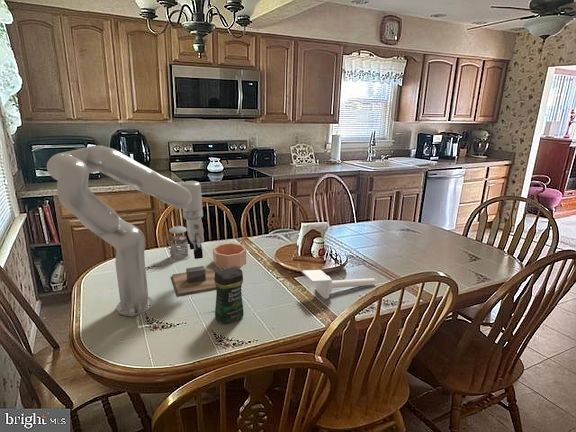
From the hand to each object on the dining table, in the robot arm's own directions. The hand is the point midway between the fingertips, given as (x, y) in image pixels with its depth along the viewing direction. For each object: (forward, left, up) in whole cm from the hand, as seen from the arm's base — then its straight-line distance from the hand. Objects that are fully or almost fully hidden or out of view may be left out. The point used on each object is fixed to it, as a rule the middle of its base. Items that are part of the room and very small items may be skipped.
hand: (196, 253), depth 154 cm
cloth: (0, +1, -13) cm, 13 cm away
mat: (0, +1, -13) cm, 13 cm away
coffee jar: (-29, -5, -14) cm, 33 cm away
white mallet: (-27, -52, -14) cm, 60 cm away
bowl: (+14, -17, -13) cm, 26 cm away
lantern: (+29, +4, -14) cm, 32 cm away
